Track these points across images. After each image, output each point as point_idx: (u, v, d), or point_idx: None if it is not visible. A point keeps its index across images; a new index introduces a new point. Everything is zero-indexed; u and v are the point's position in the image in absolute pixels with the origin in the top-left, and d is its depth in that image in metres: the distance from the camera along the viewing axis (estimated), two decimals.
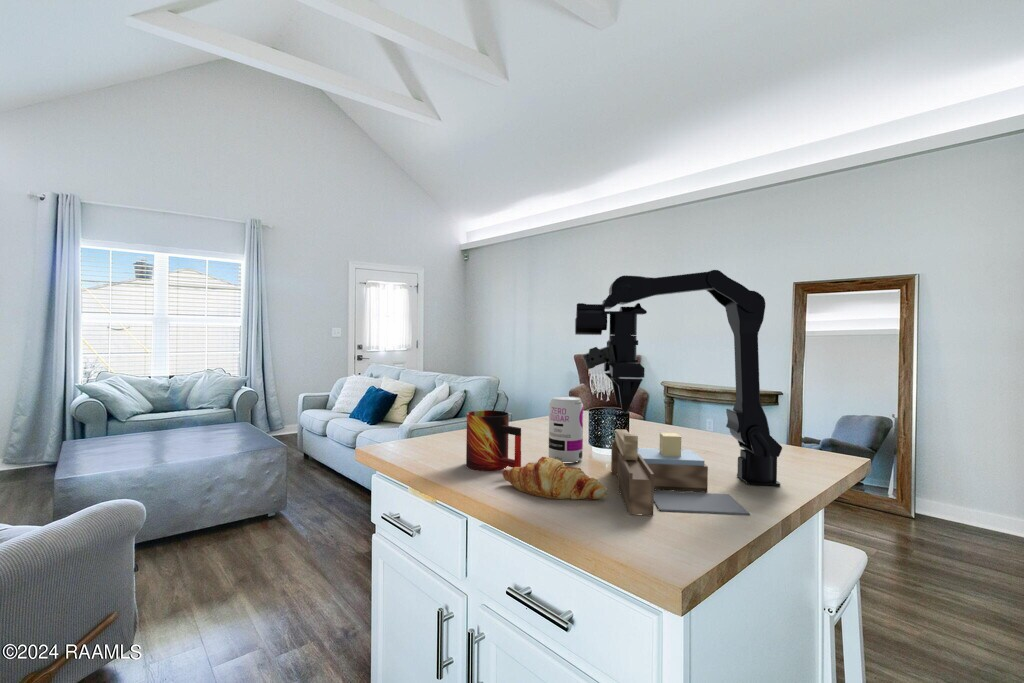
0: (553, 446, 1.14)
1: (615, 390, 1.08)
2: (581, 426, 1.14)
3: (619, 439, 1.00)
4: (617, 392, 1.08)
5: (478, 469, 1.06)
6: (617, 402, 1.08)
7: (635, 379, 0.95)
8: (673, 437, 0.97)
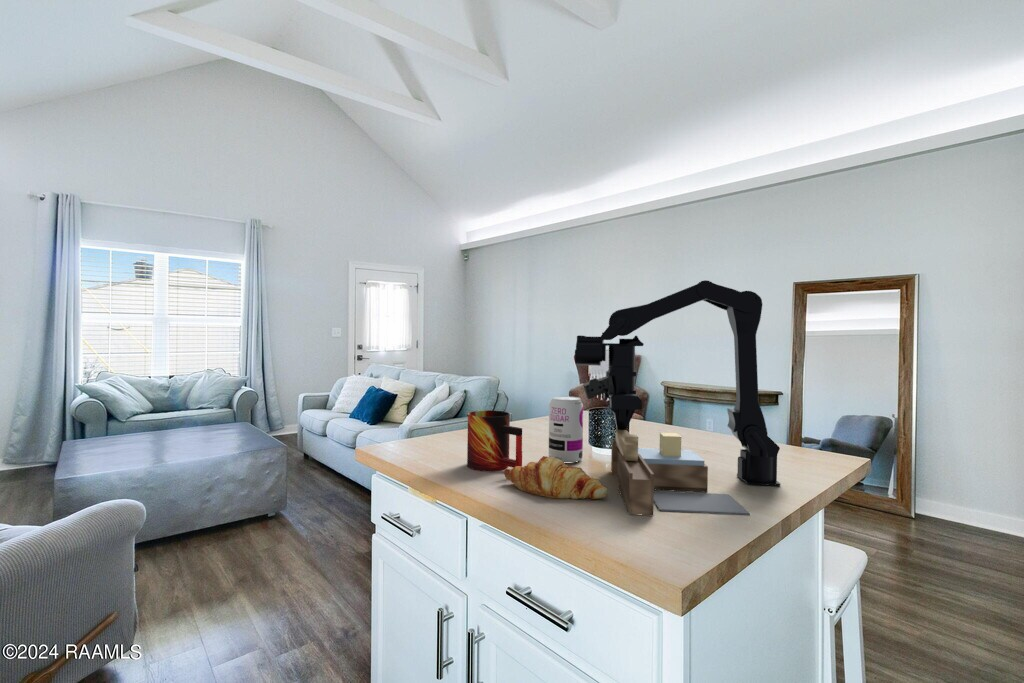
0: (553, 446, 1.14)
1: None
2: (581, 426, 1.14)
3: (619, 439, 1.00)
4: None
5: (479, 469, 1.06)
6: None
7: None
8: (673, 437, 0.97)
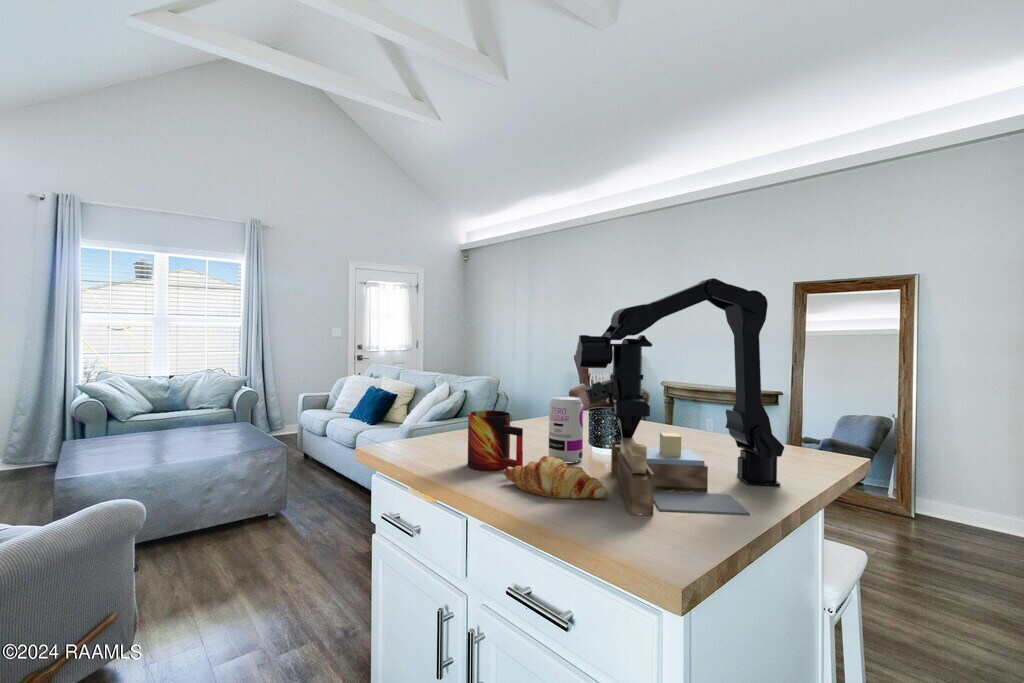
0: (553, 446, 1.14)
1: None
2: (581, 426, 1.14)
3: (625, 449, 0.91)
4: None
5: (479, 469, 1.06)
6: None
7: None
8: (673, 437, 0.97)
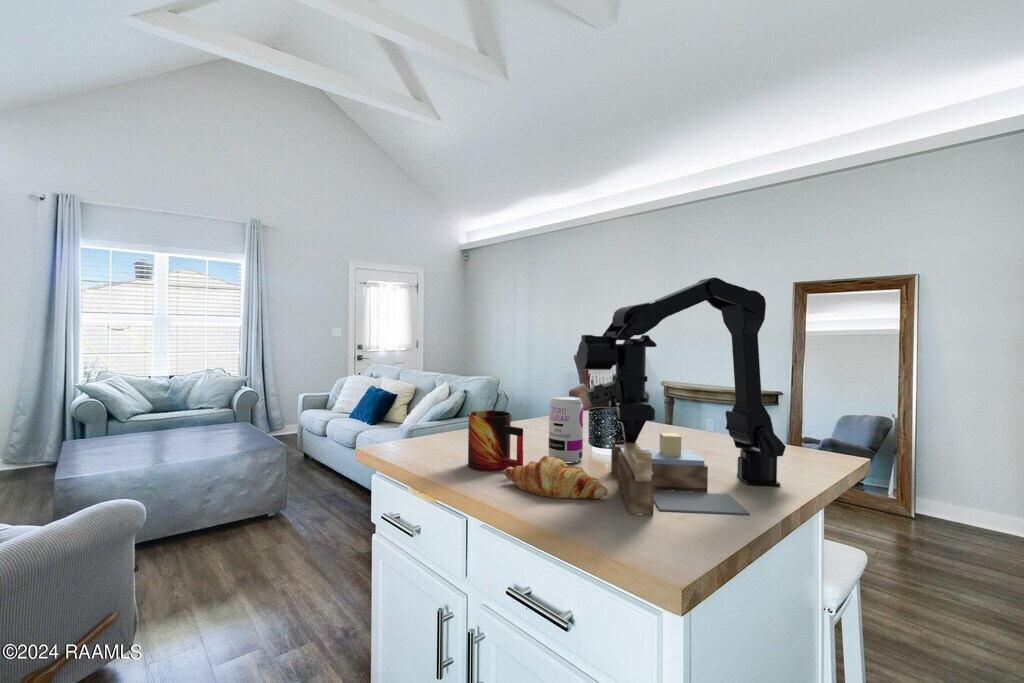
0: (553, 446, 1.14)
1: None
2: (581, 426, 1.14)
3: (629, 455, 0.87)
4: None
5: (480, 469, 1.06)
6: None
7: None
8: (673, 437, 0.97)
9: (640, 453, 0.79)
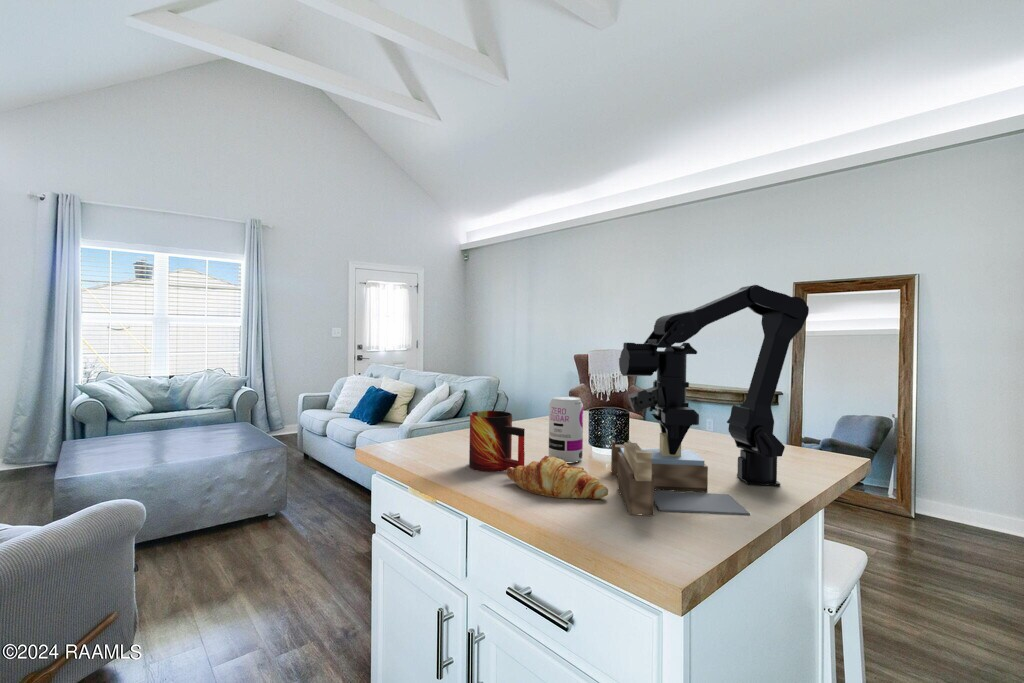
0: (553, 446, 1.14)
1: None
2: (581, 426, 1.14)
3: (629, 455, 0.87)
4: None
5: (481, 470, 1.06)
6: None
7: None
8: None
9: (640, 453, 0.79)
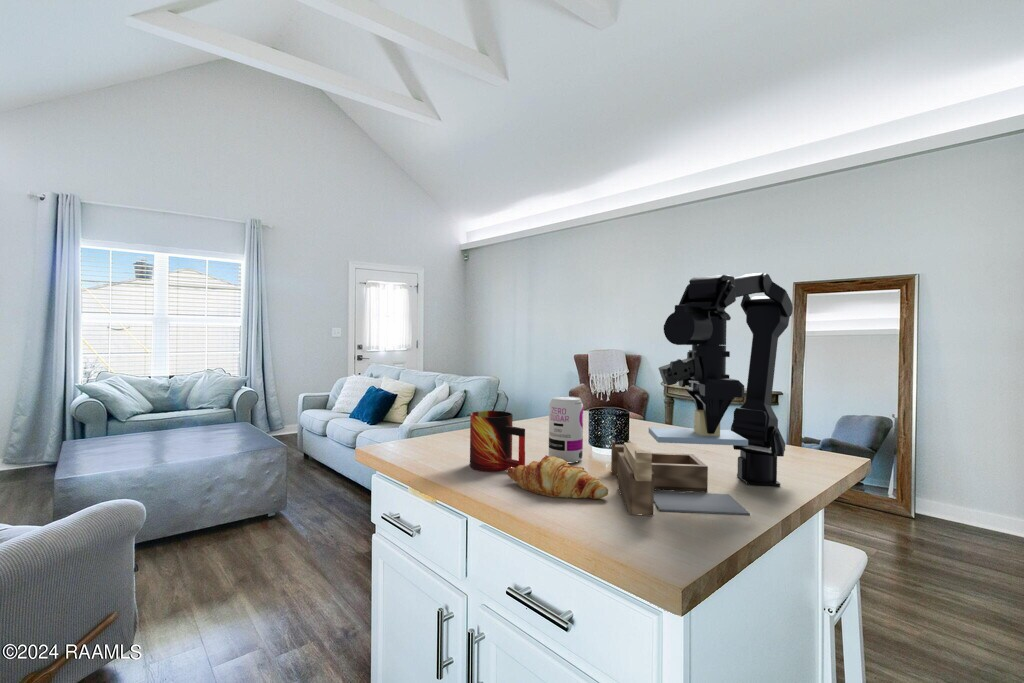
0: (553, 446, 1.14)
1: None
2: (581, 426, 1.14)
3: (629, 455, 0.87)
4: None
5: (482, 470, 1.05)
6: None
7: (726, 397, 0.81)
8: None
9: (640, 453, 0.79)
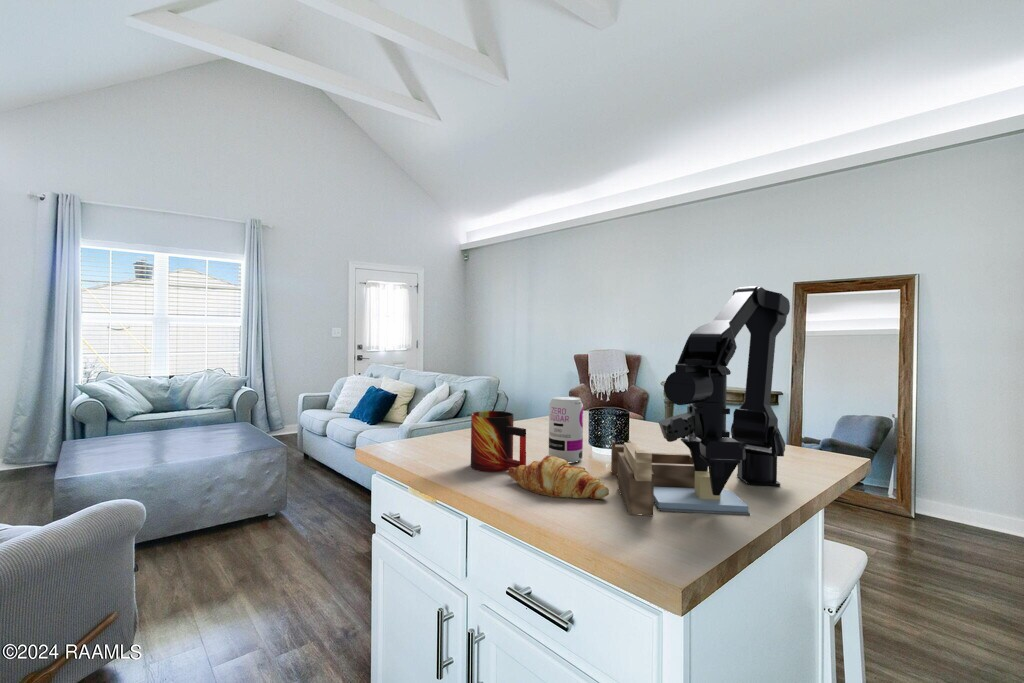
0: (553, 446, 1.14)
1: (695, 462, 0.91)
2: (581, 426, 1.14)
3: (629, 455, 0.87)
4: (698, 464, 0.91)
5: (483, 470, 1.05)
6: None
7: (733, 460, 0.79)
8: None
9: (640, 453, 0.79)
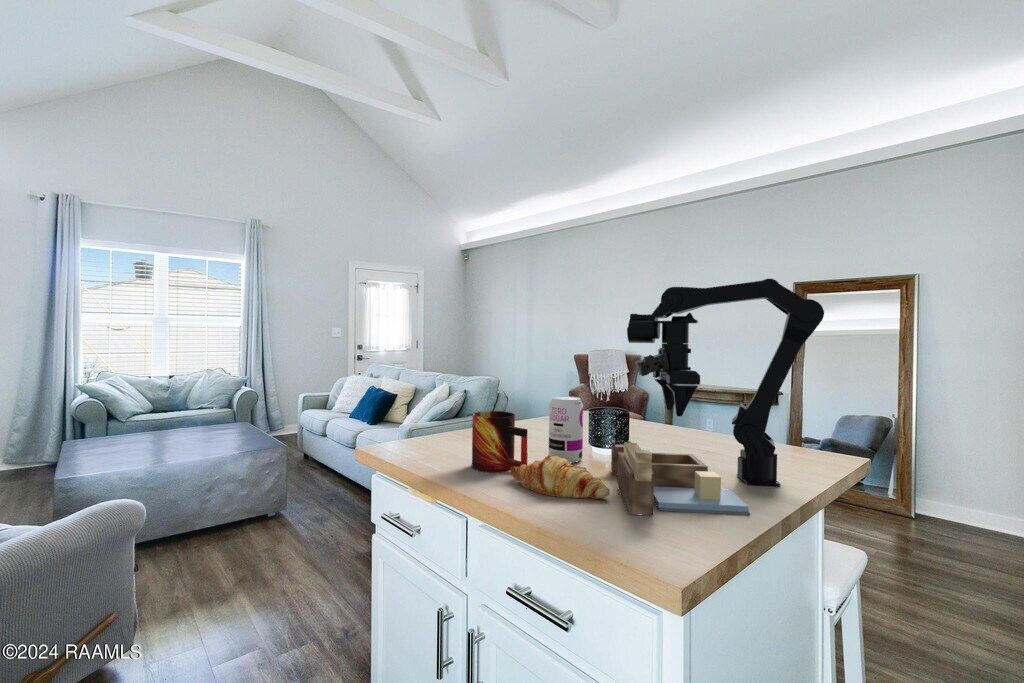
0: (553, 446, 1.14)
1: (665, 396, 1.13)
2: (581, 426, 1.14)
3: (629, 455, 0.87)
4: (667, 397, 1.13)
5: (484, 470, 1.05)
6: (667, 407, 1.13)
7: (691, 386, 1.00)
8: (711, 478, 0.85)
9: (640, 453, 0.79)
